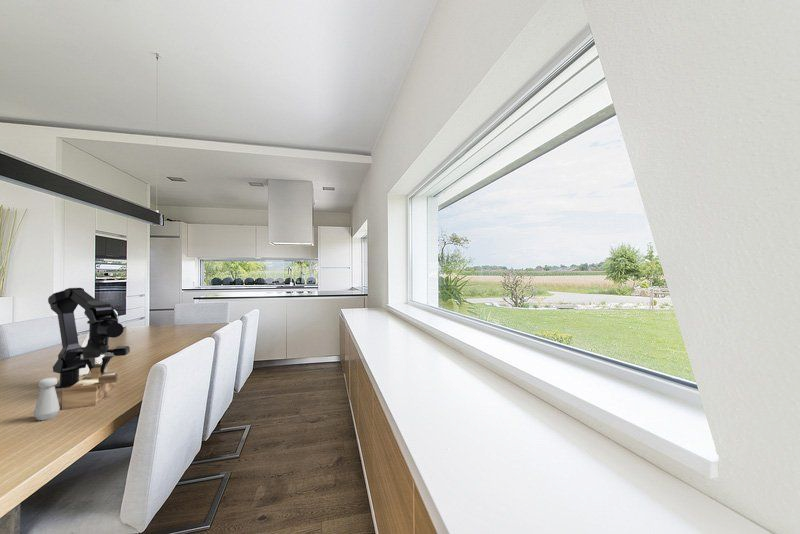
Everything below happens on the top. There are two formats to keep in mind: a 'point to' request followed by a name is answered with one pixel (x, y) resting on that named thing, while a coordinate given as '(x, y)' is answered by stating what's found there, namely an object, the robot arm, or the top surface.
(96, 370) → the lid
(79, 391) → the toolbox
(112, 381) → the block
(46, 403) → the salt shaker
